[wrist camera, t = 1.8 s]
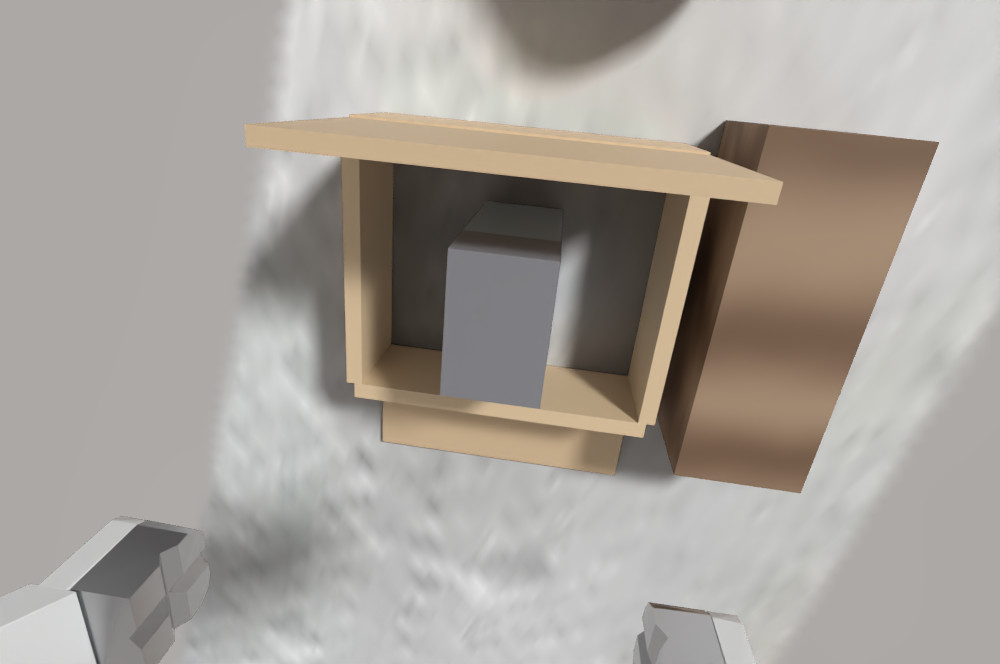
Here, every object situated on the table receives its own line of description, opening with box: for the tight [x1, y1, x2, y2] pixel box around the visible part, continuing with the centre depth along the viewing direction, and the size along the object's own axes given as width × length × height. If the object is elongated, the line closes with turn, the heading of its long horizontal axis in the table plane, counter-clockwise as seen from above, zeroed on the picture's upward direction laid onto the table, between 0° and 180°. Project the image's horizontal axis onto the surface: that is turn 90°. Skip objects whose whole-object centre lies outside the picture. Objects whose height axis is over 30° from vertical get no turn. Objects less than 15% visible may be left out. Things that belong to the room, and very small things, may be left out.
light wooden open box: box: [244, 112, 783, 475], centre depth 24 cm, size 20×16×13 cm
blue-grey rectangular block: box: [440, 201, 563, 409], centre depth 25 cm, size 6×4×10 cm, turn 175°
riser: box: [657, 120, 939, 493], centre depth 26 cm, size 16×6×6 cm, turn 175°
